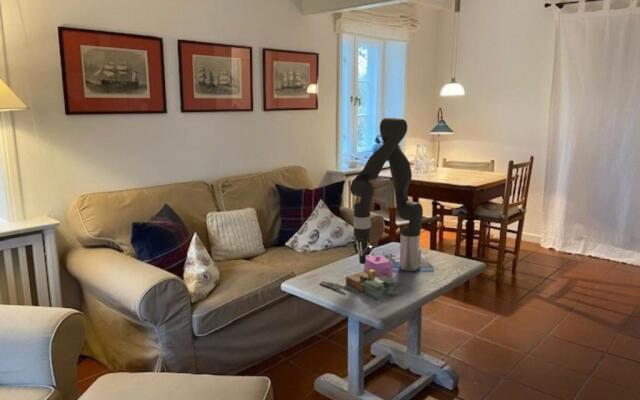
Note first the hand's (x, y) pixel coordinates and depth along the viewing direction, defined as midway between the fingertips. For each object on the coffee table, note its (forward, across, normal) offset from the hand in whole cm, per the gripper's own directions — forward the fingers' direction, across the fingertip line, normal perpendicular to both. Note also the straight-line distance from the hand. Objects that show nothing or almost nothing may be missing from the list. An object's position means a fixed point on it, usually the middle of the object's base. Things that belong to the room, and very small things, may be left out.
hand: (362, 263), depth 217 cm
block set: (+10, -6, 0) cm, 12 cm away
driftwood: (+11, +3, +11) cm, 16 cm away
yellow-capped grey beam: (+6, -10, 0) cm, 12 cm away
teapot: (+11, +4, -12) cm, 17 cm away
